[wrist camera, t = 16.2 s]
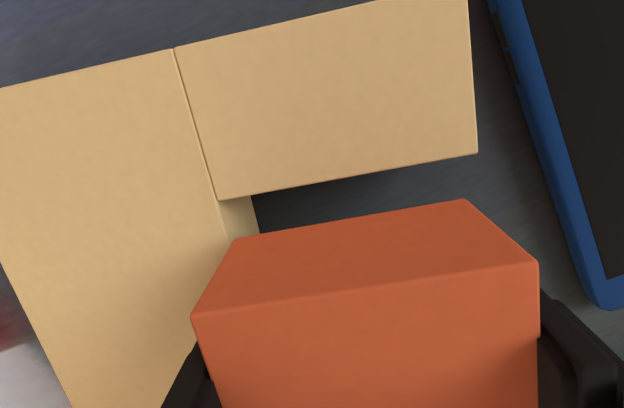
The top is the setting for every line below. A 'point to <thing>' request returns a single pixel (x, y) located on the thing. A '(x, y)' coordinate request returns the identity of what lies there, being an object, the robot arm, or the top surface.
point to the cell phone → (575, 123)
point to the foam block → (375, 315)
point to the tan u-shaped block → (204, 170)
